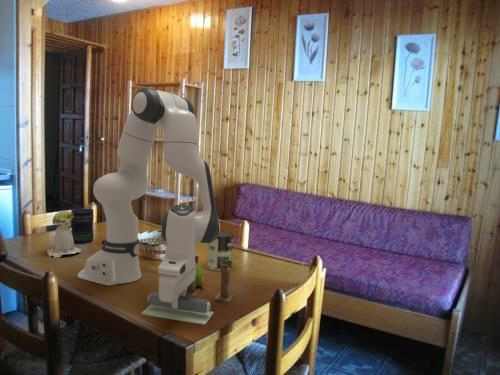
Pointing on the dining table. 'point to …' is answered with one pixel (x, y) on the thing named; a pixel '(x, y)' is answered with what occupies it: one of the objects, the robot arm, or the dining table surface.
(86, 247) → the dining table surface
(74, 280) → the dining table surface
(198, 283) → the corn
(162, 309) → the mat
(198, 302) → the rail
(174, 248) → the robot arm
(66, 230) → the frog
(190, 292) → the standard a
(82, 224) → the storage jar
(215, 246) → the coffee can
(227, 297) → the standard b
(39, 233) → the dining table surface
